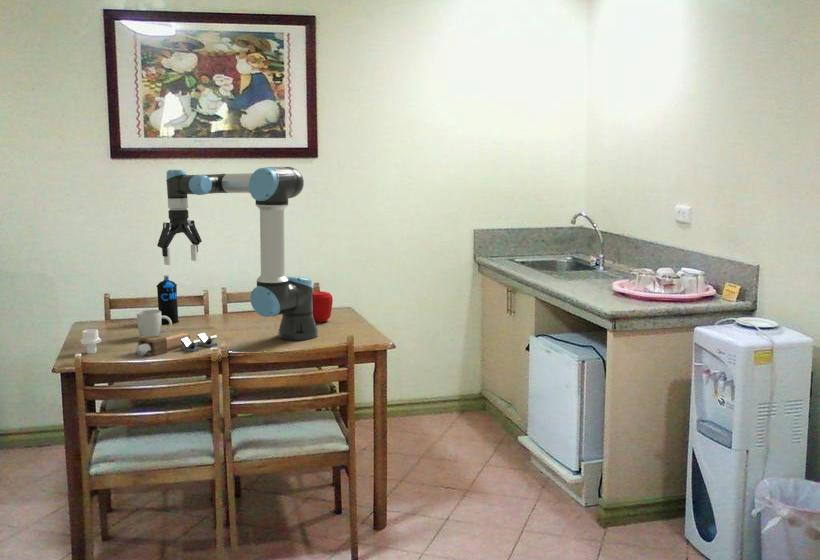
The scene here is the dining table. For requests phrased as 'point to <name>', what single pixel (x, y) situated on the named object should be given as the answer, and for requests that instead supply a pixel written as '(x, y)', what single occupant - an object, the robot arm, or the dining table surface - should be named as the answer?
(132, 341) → the dining table surface
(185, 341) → the v block
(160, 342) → the beam
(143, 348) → the grey elongated lump
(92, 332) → the pipe fitting
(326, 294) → the red bell pepper
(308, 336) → the robot arm
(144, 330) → the mug
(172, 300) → the aerosol can
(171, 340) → the brown wooden block
